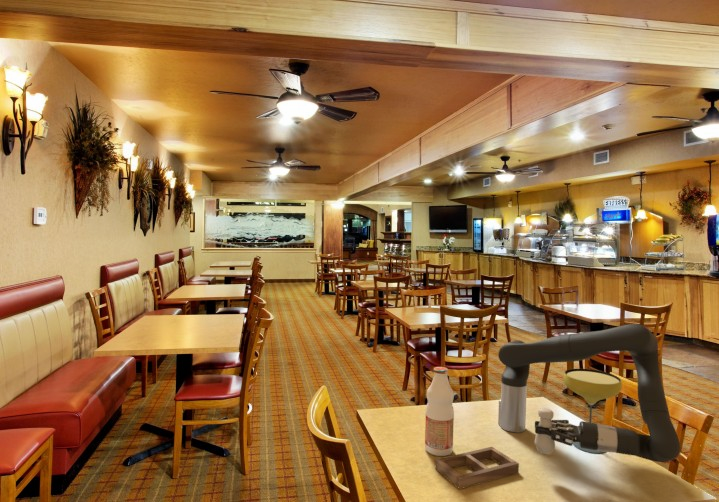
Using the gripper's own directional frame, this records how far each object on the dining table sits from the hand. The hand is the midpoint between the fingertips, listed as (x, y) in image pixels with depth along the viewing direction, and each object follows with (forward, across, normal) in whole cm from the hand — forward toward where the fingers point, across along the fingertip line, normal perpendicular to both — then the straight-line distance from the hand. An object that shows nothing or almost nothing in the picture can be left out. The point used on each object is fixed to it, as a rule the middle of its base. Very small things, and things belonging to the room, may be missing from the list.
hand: (535, 426), depth 138 cm
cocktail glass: (-19, -27, +15) cm, 36 cm away
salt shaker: (-3, 0, +7) cm, 8 cm away
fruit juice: (+30, -3, +15) cm, 34 cm away
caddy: (+17, +6, +14) cm, 23 cm away
